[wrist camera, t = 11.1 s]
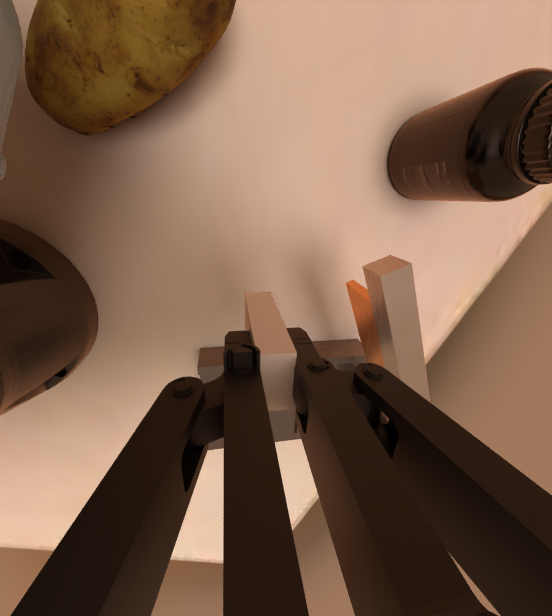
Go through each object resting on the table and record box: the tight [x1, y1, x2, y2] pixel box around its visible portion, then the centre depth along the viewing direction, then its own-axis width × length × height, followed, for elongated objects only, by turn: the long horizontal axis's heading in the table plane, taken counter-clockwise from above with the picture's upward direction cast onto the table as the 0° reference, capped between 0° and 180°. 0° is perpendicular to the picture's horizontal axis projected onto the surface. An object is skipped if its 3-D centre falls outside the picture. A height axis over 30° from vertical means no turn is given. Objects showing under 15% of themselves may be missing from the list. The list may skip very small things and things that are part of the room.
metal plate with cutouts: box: [198, 339, 366, 450], centre depth 29 cm, size 17×12×3 cm
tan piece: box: [346, 255, 430, 402], centre depth 19 cm, size 18×2×7 cm, turn 20°
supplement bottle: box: [389, 68, 552, 202], centre depth 18 cm, size 7×7×12 cm
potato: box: [25, 0, 236, 135], centre depth 14 cm, size 8×13×8 cm, turn 104°
